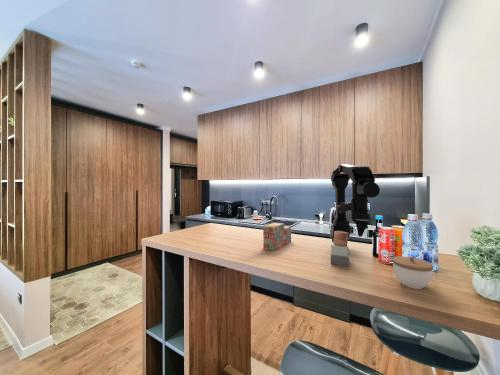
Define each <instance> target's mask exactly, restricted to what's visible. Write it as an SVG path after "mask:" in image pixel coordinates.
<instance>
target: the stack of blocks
mask: <svg viewBox="0 0 500 375" xmlns="http://www.w3.org/2000/svg"><path fill="white" fill-rule="evenodd" d="M262 229H263V237H262V238H263V248H262V249H263V250H267V251H272V252H275V251H276V250H278V249H280V248H282V247H284V246H286V245H288V244H290V243H291V242H292V226H290V225H285V223H282V222H272V223H270V224H266V225H263V228H262ZM289 242H290V243H289Z"/></svg>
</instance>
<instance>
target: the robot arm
mask: <svg viewBox="0 0 500 375" xmlns="http://www.w3.org/2000/svg"><path fill="white" fill-rule="evenodd" d="M350 180H351V184H350V185H351V199H350V200H351V201H348V202H346V189H347V187H348V186H349V181H350ZM330 182H331V185H332V187H333V189H334V190H335V218H334V219H333V220H332V225H331V228H330V231H329V234H330V236H331V243H332V242H333V241H334V231H342V232H346V233H348V238H350V236H351V229H352V228H351V226H350V221H349V220H348V219H347V218H346V217H347V216H346V212H350V211H351V212H350V214H351V221H352V222H353V223H355V226H356V232H357V236H358V238H359V237H360V238H362V236H363V235H364V232H365V231H366V229H367V227H368V224H369V223H370V221H371V214H370V213H369V207H368V206H369V205H368V204H369V198H371V199H372V198H376V197H377V196H378V195H379V194H380V191H381V189H380V186H379V184H377V183H376V177H375V175H374V173H373V171H372V169H371V168H370V166H369V165H352V164H349V163H343V164H339V165H338V167H337V168H336V169H334V170H333V171H332V173H331V175H330ZM330 247H332V244H331V245H330ZM347 250H349V247H348V246H347Z"/></svg>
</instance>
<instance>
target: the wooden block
mask: <svg viewBox="0 0 500 375" xmlns="http://www.w3.org/2000/svg"><path fill="white" fill-rule="evenodd" d="M348 241H349V237H348V233H346V232H342V231H334V241H333V243H334V244H336V245H340V246H347V247H348Z"/></svg>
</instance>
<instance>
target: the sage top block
mask: <svg viewBox="0 0 500 375" xmlns="http://www.w3.org/2000/svg"><path fill="white" fill-rule="evenodd" d="M331 245H332V246H331V252H332V255H336V256H344V257H347V253H348V249H347V247H348V245H347V246H340V245H336V244H334V243H333V242H332V241H331Z"/></svg>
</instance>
